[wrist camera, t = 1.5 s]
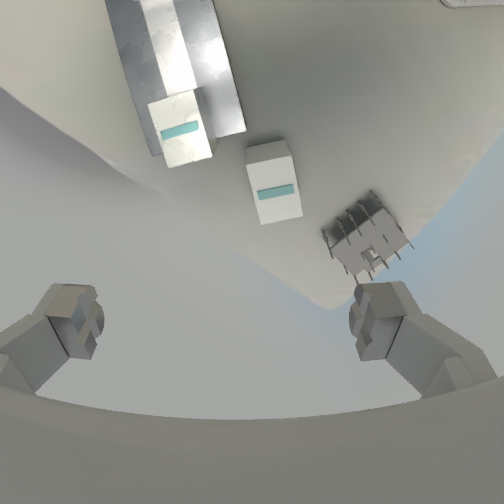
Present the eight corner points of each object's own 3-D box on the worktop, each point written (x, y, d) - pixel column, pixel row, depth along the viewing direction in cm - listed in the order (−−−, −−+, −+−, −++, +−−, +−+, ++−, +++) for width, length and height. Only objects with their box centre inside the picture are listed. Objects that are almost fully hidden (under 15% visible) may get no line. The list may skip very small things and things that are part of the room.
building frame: (397, 222, 37) (417, 249, 32) (348, 261, 40) (360, 291, 35) (371, 187, 34) (390, 210, 29) (318, 230, 37) (329, 259, 32)
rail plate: (194, -63, 19) (181, -87, 13) (247, 133, 31) (247, 149, 25) (102, -28, 20) (73, -41, 14) (156, 157, 32) (137, 178, 27)
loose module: (284, 139, 31) (292, 156, 26) (295, 191, 34) (303, 217, 29) (246, 147, 32) (245, 166, 26) (259, 198, 35) (261, 226, 30)
